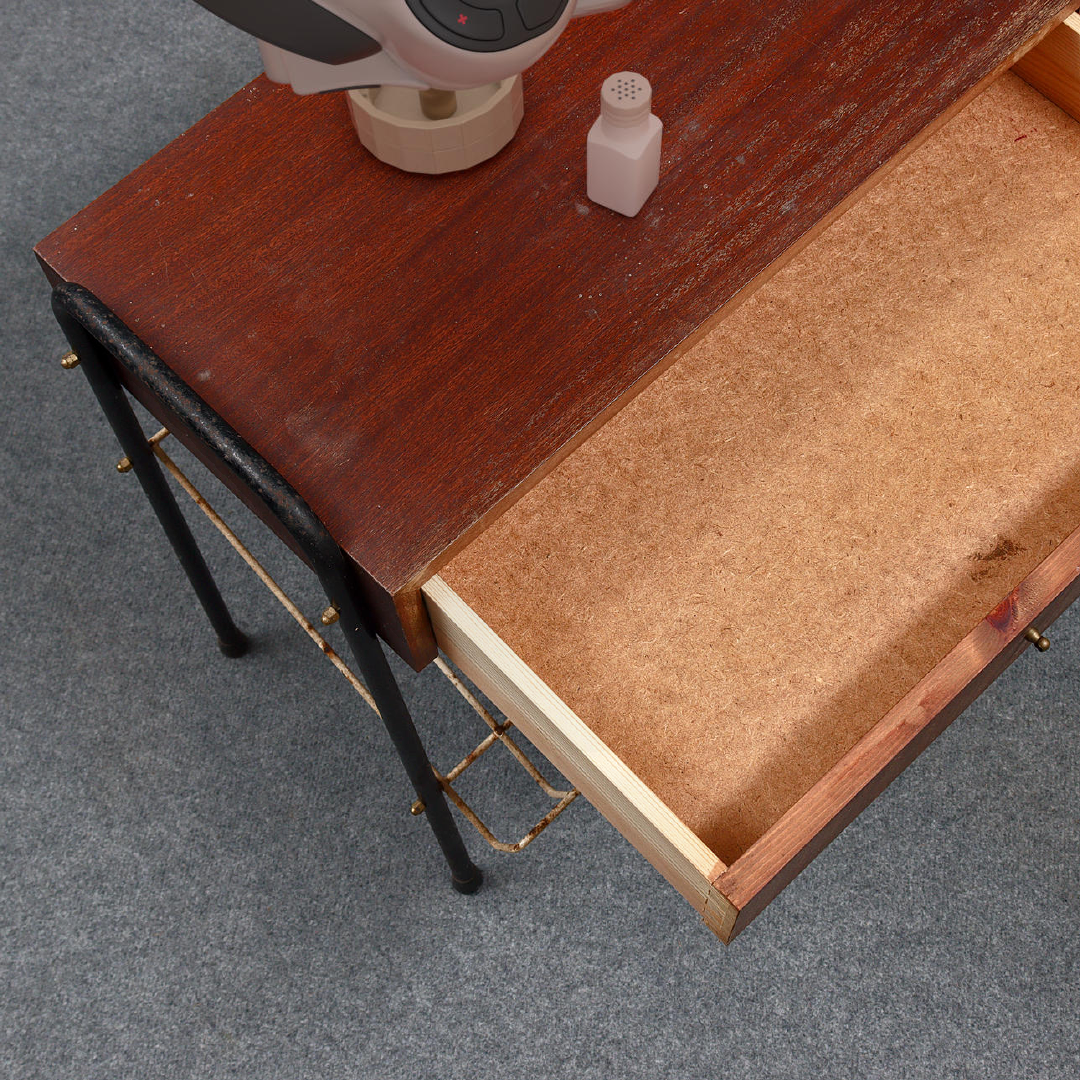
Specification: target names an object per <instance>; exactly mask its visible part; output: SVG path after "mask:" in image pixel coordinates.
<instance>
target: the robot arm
mask: <svg viewBox="0 0 1080 1080" xmlns="http://www.w3.org/2000/svg"><path fill="white" fill-rule="evenodd" d="M192 2H194V3H195V4H197V5H198V6H200V7H201V8H203V9H204V10H206V11H207V12H209V13H211V14H212V15H214V16H215V17H217V18H219V19H220V20H222V21H224V22H226V23H228V24H229V25H231V26H233V27H234V28H236V29H239V30H240V31H243V32H244V33H247V34H248V35H249V36H252V37H254V38H255V39H256V42H257V45H258V50H259V53H260V57H261V60H262V65H263V69H264V71H265V75H266V77H267V78H268V80H270V81H271V82H273V83H275V84H280V85H290V86H291V89H292V91H293V93H294V94H296V95H297V96H298V95H299V96H309V95H316V94H318V95H326V94H327V95H328V94H332V93H339V92H345V91H347V90H355V89H374V88H380V87H381V86H390V87H401V88H408V89H415V90H422V91H425V90H429V89H430V88H434V89H439V90H447V91H461V90H469V89H473V88H477V87H481V86H484V85H488V84H491V83H494V82H498V81H501V80H505V79H507V78H510V77H512V76H514V75H516V74H518V73H520V72H522V73H523V72H524V71H526V70H527V69H529V68H530V67H531V66H533V65H534V64H536V62H537V61H539V60H540V59H541V58H542V57H543V56H544V55H545V54H546V53H548V51H549V50H550V49H551V47H552V46H553V45H554V44H555V43H556V42H557V40H558V39H559V38H560V36H561V35H562V34H563V32H564V31H565V30H566V28H567V26H568V25H569V22H570V21H571V20H573V19H577V18H584V17H587V16H592V15H598V14H602V13H607V12H612V11H615V10H618V9H621V8H624V7H626V6H628V5H629V4H630V3H631V2H633V0H192Z"/></svg>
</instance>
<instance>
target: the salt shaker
mask: <svg viewBox="0 0 1080 1080" xmlns="http://www.w3.org/2000/svg"><path fill="white" fill-rule="evenodd" d="M652 94H653V89H652V87H651V84H650V81H649V80H648V79H647V78H646V77H644V76H643V75H642V74H641V73H638V72H634V71H633V72H632V71H627V70H625V71H620V72H616V73H613V74H611V75H610V76H609V77H607V78H606V79H604V81H603V83H602V86H601V89H600V115H598V117H597V118H596V120H595V122H594V123H593V124H592V126H591V128H590V130H589V131H588V133H587V139H586V195H587V197H588V199H589V200H591V202H594V203H595V204H598V205H601V206H603V207H605V208H607V209H610V210H612V211H615V212H616V213H619V214H622V215H624V216H626V217H631V218H633V217H635V216H636V215H638V213H639V212H640V210H641V209H642V208H643V206H644V205H645V203H646V202H647V200H648V199H649V197H650V196H651V195H652V193H653V192H654V190H655V189H656V187H657V186H658V184H659V180H660V166H661V165H660V164H661V154H662V153H661V152H662V140H663V139H662V137H663V126H664V125H663V122H662V121H661V119H660V118H659V117H658V116H657V115H655V114H653V113H651V112H652V98H653V97H652Z"/></svg>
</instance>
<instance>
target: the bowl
mask: <svg viewBox="0 0 1080 1080" xmlns="http://www.w3.org/2000/svg"><path fill="white" fill-rule="evenodd" d="M523 78H524V77H523V71H522V72H520V73H518V74H516V75H514V76H512V77H510V78H507V79H505V80H501V81H498V82H494V83H491V84H488V85H484V86H481V87H477V88H473V89H469V90H461V91H455V93H456V101H457V109H456V111H455V113H454V114H453V115H452V116H451V117H449V118H447V119H442V120H432V119H429V118H427V117H426V116H425V115H424V114H423V113H422V110H421V105H420V98H419V92H418V90H415V89H408V88H401V87H390V86H381V87H380V88H374V89H355V90H347V91H344V93H345V98H346V102H347V106H348V111H349V115H350V120H351V123H352V125H353V127H354V131H355V132H356V135H357V137H358V139H359V143H360V144H362V145H363V146H364V147H365V148H366V149H367V150H368V151H369V152H370V153H371V154H372V155H373V156H374V157H375V158H376V159H378V160H379V161H381V162H383V163H385V164H388V165H389V166H392V167H395V168H398V169H399V170H402V171H405V172H410V173H419V174H429V175H439V174H446V173H451V172H457V171H463V170H467V169H470V168H472V167H475V166H476V165H478V164H481V163H483V162H485V161H486V160H488V159H491V158H493V157H494V156H496V155H497V154H498V153H499V152H501V150H502V149H503V148H504V147H505V146H506V145H507V144H508V143H510V141H511V140H512V139H513V138H514V137H515V134H516V133H517V130H518V129H519V126H520V125H521V122H522V119H523V118H524V115H525V98H524V97H525V93H524V79H523Z"/></svg>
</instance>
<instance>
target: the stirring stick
mask: <svg viewBox="0 0 1080 1080" xmlns="http://www.w3.org/2000/svg"><path fill="white" fill-rule="evenodd" d="M418 92H419V98H420V105H421V110H422V113H423V114H424V115H425V116H426V117H427V118H429V119H432V120H442V119H447V118H449V117H451V116H452V115H453V114H454V113H455V111H456V109H457V101H456V93H455V91H447V90H439V89H434V88H430V89H429V90H425V91H422V90H418Z"/></svg>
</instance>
